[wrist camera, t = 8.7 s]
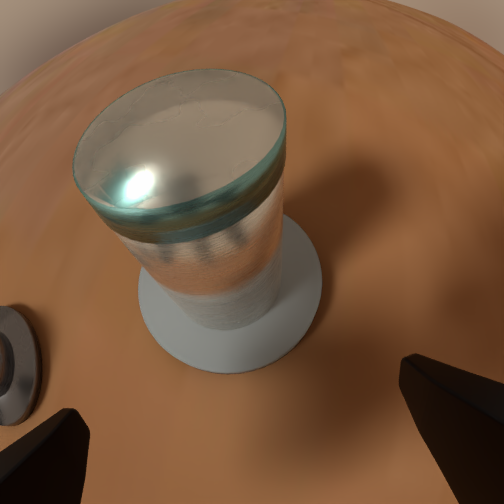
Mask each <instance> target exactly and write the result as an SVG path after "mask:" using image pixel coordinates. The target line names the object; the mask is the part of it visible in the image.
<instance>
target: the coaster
mask: <svg viewBox="0 0 504 504" xmlns="http://www.w3.org/2000/svg"><path fill="white" fill-rule="evenodd" d="M321 291H322V271H321V266H320V261H319V258H318V255H317V252H316V250H315V248H314V246H313V244H312V242H311V240H310V239H309V237H308V236H307V234H306V233H305V232H304V231H303V230H302V228H301V227H300V226H299V225H298V224H297V223H296V222H294V221H293V220H292V219H291V218H290V217H288V216H287V215H285V214H283V240H282V272H281V285H280V290H279V293H278V296H277V298H276V300H275V302H274V304H273V305H272V307H271V308H270V309H269V310H268V312H267V313H266V314H264V315H263V316H262V317H261V318H260V319H258V320H257V321H256V322H254V323H252V324H250V325H248V326H245V327H243V328H239V329H235V330H227V331H222V330H213V329H209V328H206V327H203V326H201V325H199V324H197V323H195V322H194V321H192V320H191V319H190V318H189V317H188V316H186V314H185V313H184V312H183V311H182V310H181V309H180V308H179V307H178V306H177V305H176V304H175V303H174V301H173V300H172V299H171V298H170V297H169V296H168V295H167V294H166V293H165V292H164V290H163V289H162V288H161V287H160V286H159V285H158V284H157V282H156V281H155V280H154V279H153V278H152V277H151V276H150V274H149V273H148V272H147V271H146V270H145V269H144V267H143V266H142V268H141V272H140V277H139V286H138V294H139V303H140V309H141V312H142V315H143V318H144V321H145V323H146V325H147V327H148V329H149V331H150V332H151V334H152V335H153V337H154V338H155V340H156V341H157V342H158V343H159V344H160V345H161V346H162V347H163V348H164V349H165V350H166V351H167V352H169V353H170V354H171V355H172V356H174V357H175V358H177V359H179V360H181V361H182V362H184V363H186V364H188V365H190V366H193V367H195V368H198V369H200V370H203V371H208V372H212V373H219V374H240V373H245V372H250V371H254V370H257V369H260V368H263V367H266V366H268V365H270V364H272V363H274V362H276V361H277V360H279V359H280V358H282V357H283V356H284V355H286V354H287V353H288V352H289V351H291V350H292V349H293V348H294V347H295V346H296V345H297V344H298V343H299V341H300V340H301V339H302V338H303V336H304V335H305V333H306V332H307V330H308V329H309V327H310V325H311V323H312V321H313V318H314V316H315V314H316V311H317V309H318V305H319V301H320V298H321Z"/></svg>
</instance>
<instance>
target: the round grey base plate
mask: <svg viewBox="0 0 504 504" xmlns="http://www.w3.org/2000/svg"><path fill="white" fill-rule="evenodd" d="M41 380H42V358H41V351H40V345H39V342H38V338H37V335H36V333H35V330H34V328H33V327H32V325H31V323H30V322H29V320H28V319H27V318H26V317H25V316H24V315H22V314H21V313H19V312H18V311H16V310H14V309H12V308H10V307H7V306H0V425H2V426H15V425H19V424H20V423H22V422H23V421H25V420H26V419H27V418H28V417H29V415H30V414H31V412H32V411H33V409H34V407H35V405H36V402H37V399H38V396H39V392H40V387H41Z"/></svg>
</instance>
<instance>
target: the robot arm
mask: <svg viewBox="0 0 504 504" xmlns="http://www.w3.org/2000/svg"><path fill="white" fill-rule="evenodd" d="M399 387H400V390H401V392H402V394H403V397H404V399H405V401H406V403H407V406H408V408H409V410H410V412H411V415H412V417H413V419H414V422H415V424H416V426H417V428H418V431H419V433H420V434H421V436H422V438H423V440H424V441H425V443H426V445H427V447H428V448H429V450H430V452H431V454H432V455H433V457H434V459H435V461H436V462H437V464H438V466H439V468H440V470H441V471H442V473H443V475H444V477H445V479H446V481H447V482H448V484H449V486H450V488H451V490H452V492H453V494H454V495H455V497H456V499H457V501H458V503H459V504H504V384H503V383H500V382H497V381H494V380H491V379H488V378H485V377H482V376H479V375H476V374H473V373H470V372H467V371H465V370H462V369H459V368H456V367H453V366H450V365H447V364H445V363H442V362H439V361H436V360H433V359H431V358H428V357H425V356H422V355H420V354H417V353H415V354H411V355H409V356H406V357H404V358H402V360H401V365H400V374H399ZM89 440H90V430H89V428H88V426H87V425H86V423H85V422H84V420H83V419H82V417H81V415H80V414H79V412H78V411H77V410H76V409H73V408H63V409H61V410H60V411H58V412H57V413H56V414H54V415H53V416H51V417H50V418H49V419H47V420H46V421H44V422H43V423H41V424H40V425H39V426H37V427H36V428H34V429H33V430H31V431H30V432H29V433H27V434H26V435H24V436H23V437H21V438H20V439H18V440H17V441H16V442H14V443H13V444H11V445H10V446H8V447H7V448H5V449H4V450H2V451H1V452H0V504H81V498H82V493H83V487H84V482H85V476H86V467H87V457H88V449H89Z"/></svg>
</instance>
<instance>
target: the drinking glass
mask: <svg viewBox="0 0 504 504" xmlns="http://www.w3.org/2000/svg"><path fill="white" fill-rule="evenodd" d="M285 160H286V109H285V106H284V103H283V101H282V99H281V98H280V96H279V94H278V93H277V92H276V91H275V90H274V89H273V88H272V87H271V86H269V85H268V84H267V83H265V82H264V81H262V80H260V79H258V78H256V77H254V76H251V75H248V74H245V73H242V72H237V71H232V70H224V69H197V70H189V71H183V72H178V73H174V74H170V75H166V76H163V77H160V78H157V79H154V80H152V81H149V82H147V83H145V84H142V85H140V86H138V87H136V88H134V89H132V90H131V91H129V92H127V93H126V94H124V95H122V96H121V97H119V98H118V99H117V100H115V101H114V102H112V103H111V104H110V105H109V106H107V107H106V108H105V109H104V110H103V111H102V112H101V113H100V114H99V115H98V116H97V117H96V118H95V119H94V120H93V121H92V122H91V124H90V125H89V126H88V128H87V129H86V130H85V132H84V133H83V135H82V137H81V139H80V140H79V143H78V145H77V147H76V150H75V154H74V158H73V167H72V168H73V177H74V180H75V183H76V185H77V187H78V188H79V190H80V192H81V193H82V194H83V196H84V197H85V198H86V200H87V201H88V202H89V204H90V205H91V206H92V207H93V209H94V210H95V211H96V213H97V214H98V215H99V217H100V218H101V219H102V220H103V222H104V223H105V224H106V225H107V226H108V227H109V228H110V229H112V230H113V231H114V232H115V234H116V235H117V236H118V237H119V239H120V240H121V241H122V242H123V244H124V245H125V246H126V247H127V248H128V250H129V251H130V252H131V253H132V254H133V256H134V257H135V258H136V259H137V260H138V262H139V263H140V264H141V265H142V266H143V267H144V269H145V270H146V271H147V272H148V273H149V274H150V276H151V277H152V278H153V279H154V280H155V281H156V282H157V284H158V285H159V286H160V287H161V288H162V289H163V290H164V292H165V293H166V294H167V295H168V296H169V297H170V298H171V299H172V300H173V301H174V303H175V304H176V305H177V306H178V307H179V308H180V309H181V310H182V311H183V312H184V313H185V314H186V316H188V317H189V318H190V319H191V320H192V321H194V322H195V323H197V324H199V325H201V326H203V327H206V328H209V329H213V330H222V331H227V330H235V329H239V328H243V327H245V326H248V325H250V324H252V323H254V322H256V321H257V320H258V319H260V318H261V317H262V316H263V315H264V314H266V313H267V312H268V310H269V309H270V308H271V307H272V305H273V304H274V302H275V300H276V298H277V296H278V293H279V290H280V285H281V272H282V240H283V195H284V166H285Z"/></svg>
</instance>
